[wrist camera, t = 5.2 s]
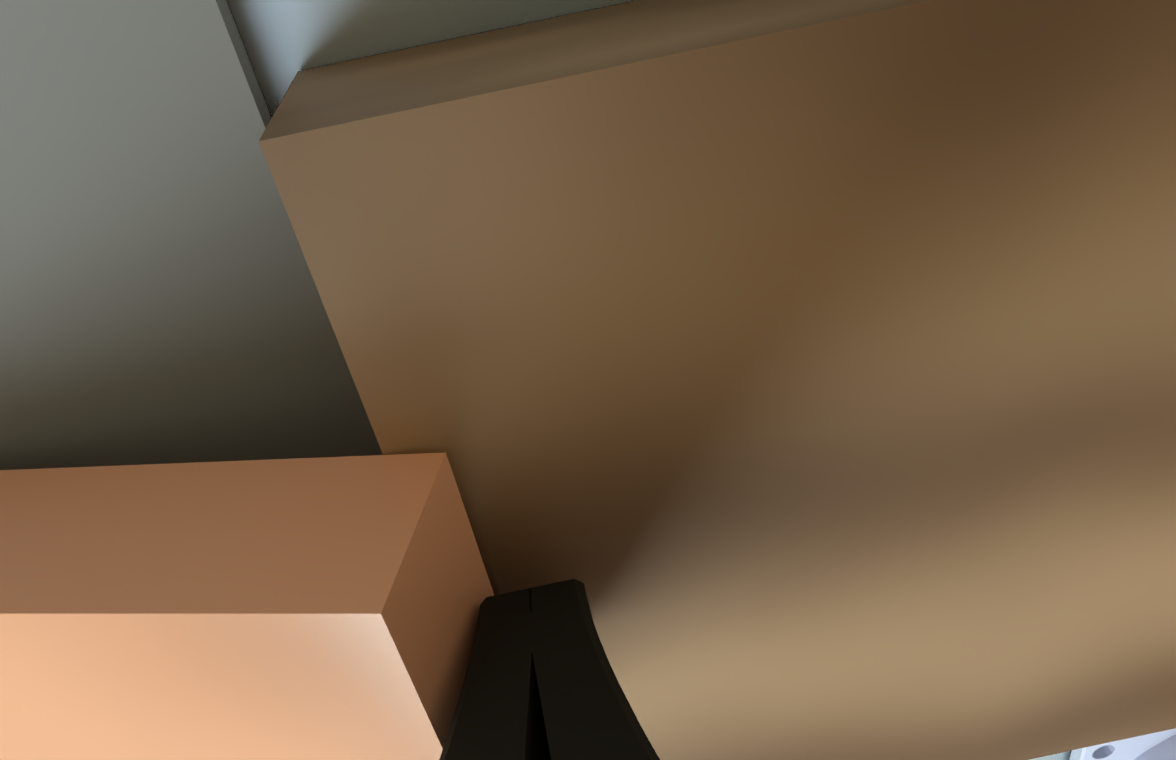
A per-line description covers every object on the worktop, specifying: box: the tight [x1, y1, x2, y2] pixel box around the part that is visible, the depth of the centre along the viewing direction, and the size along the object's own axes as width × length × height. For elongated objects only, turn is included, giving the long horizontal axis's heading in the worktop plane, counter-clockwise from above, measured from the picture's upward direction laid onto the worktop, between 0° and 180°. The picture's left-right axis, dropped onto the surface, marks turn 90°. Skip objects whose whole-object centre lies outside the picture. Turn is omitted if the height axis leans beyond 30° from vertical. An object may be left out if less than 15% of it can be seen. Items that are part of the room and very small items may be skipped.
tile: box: [0, 452, 494, 760], centre depth 12 cm, size 6×9×2 cm, turn 100°
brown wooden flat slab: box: [259, 0, 1176, 760], centre depth 13 cm, size 14×14×2 cm
